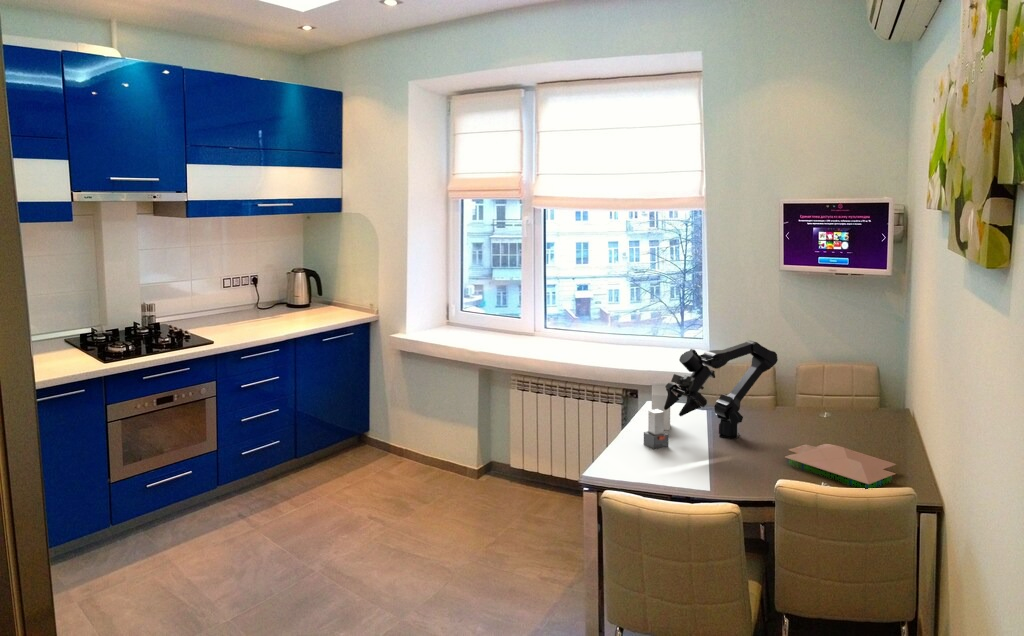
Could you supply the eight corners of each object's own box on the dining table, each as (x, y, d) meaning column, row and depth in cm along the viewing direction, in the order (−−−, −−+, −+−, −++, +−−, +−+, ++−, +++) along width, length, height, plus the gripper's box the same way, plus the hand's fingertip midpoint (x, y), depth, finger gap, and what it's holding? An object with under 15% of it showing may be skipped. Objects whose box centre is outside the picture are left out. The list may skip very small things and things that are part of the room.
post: (657, 443, 271) (657, 409, 269) (664, 446, 268) (664, 411, 266) (648, 444, 270) (648, 410, 268) (654, 448, 266) (654, 413, 264)
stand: (659, 443, 276) (659, 427, 275) (675, 450, 266) (675, 435, 266) (636, 447, 272) (636, 431, 271) (652, 455, 263) (652, 439, 262)
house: (818, 450, 265) (819, 428, 263) (909, 477, 237) (910, 453, 236) (777, 463, 252) (777, 441, 251) (868, 494, 225) (869, 468, 224)
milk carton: (670, 432, 287) (670, 385, 284) (651, 432, 288) (651, 385, 286) (669, 427, 294) (670, 381, 291) (651, 426, 295) (652, 380, 292)
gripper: (669, 361, 278) (644, 393, 275) (700, 371, 261) (674, 405, 258) (686, 379, 282) (662, 411, 279) (718, 390, 265) (692, 424, 263)
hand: (672, 412), depth 270 cm, fingers open, 9 cm apart
